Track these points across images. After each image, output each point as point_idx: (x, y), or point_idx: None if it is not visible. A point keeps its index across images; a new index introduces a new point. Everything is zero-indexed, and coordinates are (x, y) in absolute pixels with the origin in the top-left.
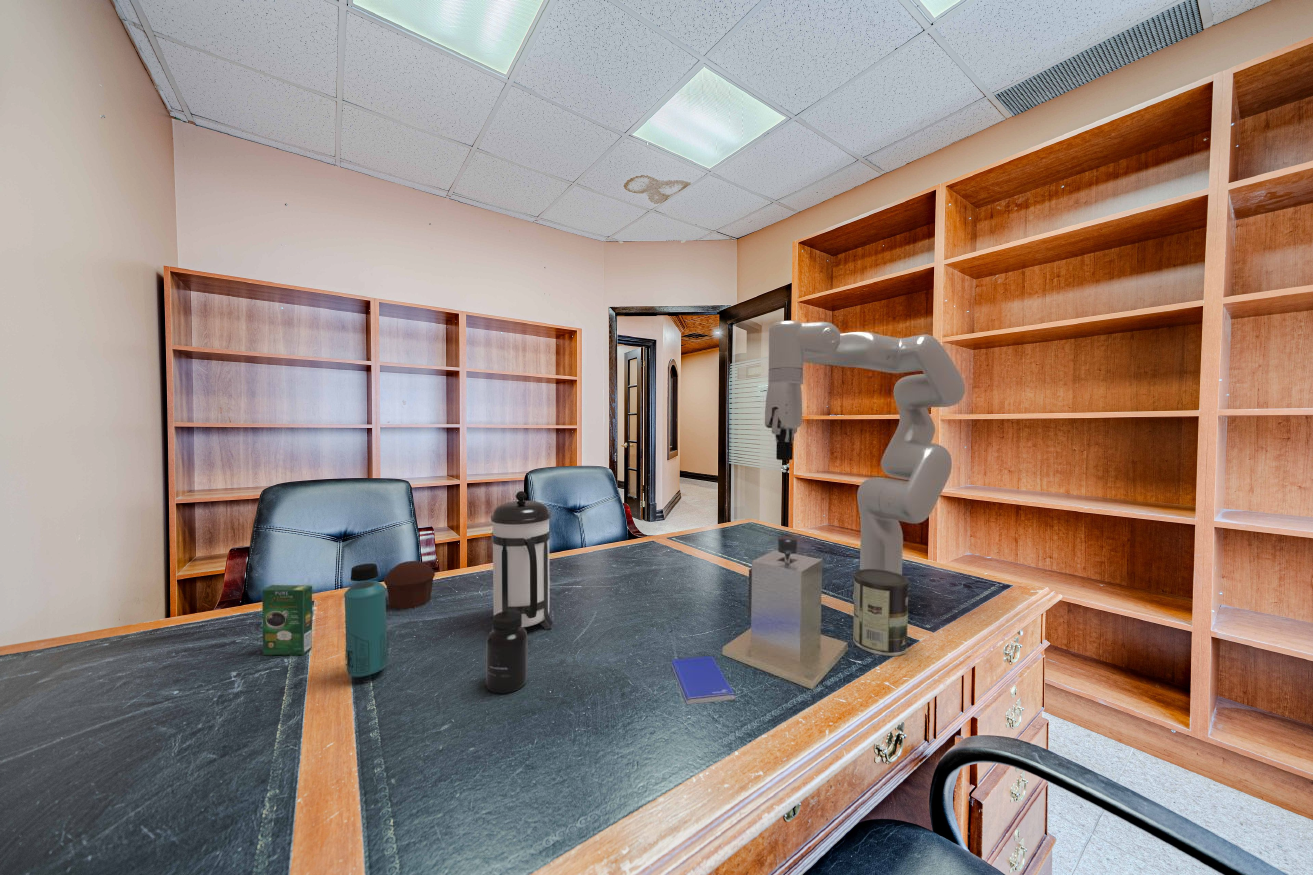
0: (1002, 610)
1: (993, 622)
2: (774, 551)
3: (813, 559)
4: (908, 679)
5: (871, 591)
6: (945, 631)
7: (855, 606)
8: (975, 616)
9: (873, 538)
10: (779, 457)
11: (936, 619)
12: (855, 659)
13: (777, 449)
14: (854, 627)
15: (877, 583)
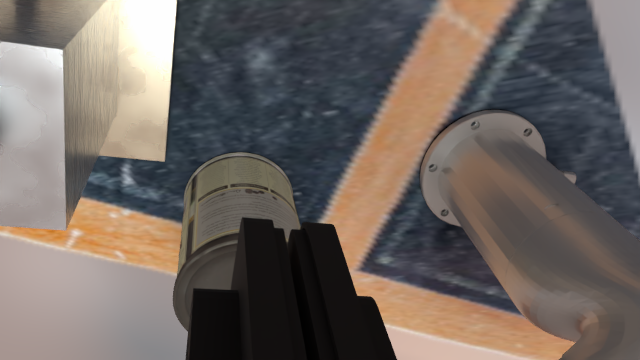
0: (525, 348)
1: (456, 340)
2: (36, 53)
3: (40, 208)
4: (118, 258)
5: (177, 275)
6: (372, 285)
7: (209, 203)
8: (475, 318)
9: (522, 268)
10: (240, 262)
11: (428, 269)
12: (133, 173)
13: (244, 313)
14: (214, 174)
15: (178, 302)
